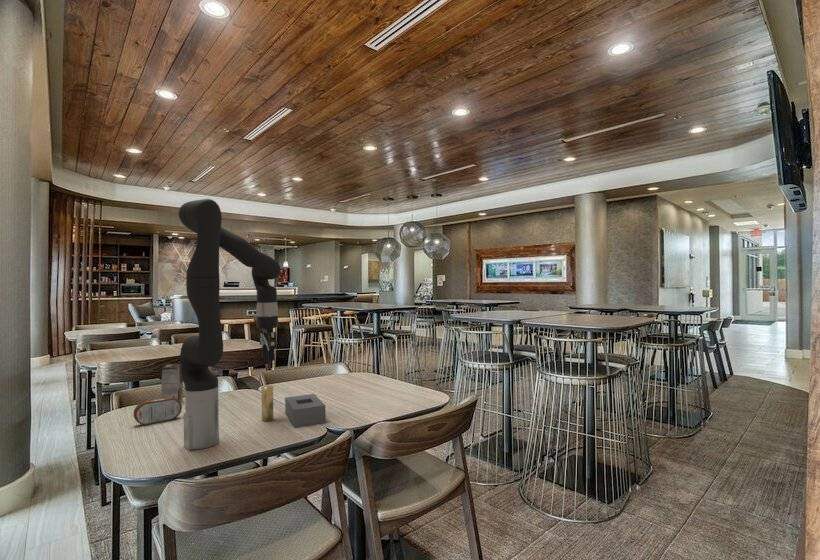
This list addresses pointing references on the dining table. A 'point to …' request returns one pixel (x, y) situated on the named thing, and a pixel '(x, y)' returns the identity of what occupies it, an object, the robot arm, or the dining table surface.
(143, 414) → the tin
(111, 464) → the dining table surface
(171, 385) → the coffee box
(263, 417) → the pin
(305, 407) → the socket block
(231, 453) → the dining table surface
